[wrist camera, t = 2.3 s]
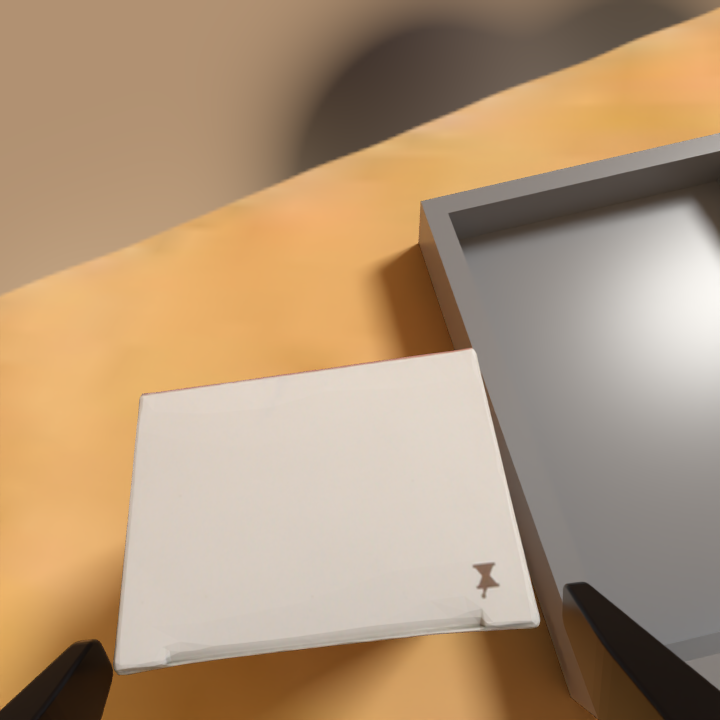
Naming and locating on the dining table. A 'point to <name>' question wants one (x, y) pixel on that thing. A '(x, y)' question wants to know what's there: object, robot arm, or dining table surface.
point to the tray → (601, 378)
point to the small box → (318, 515)
